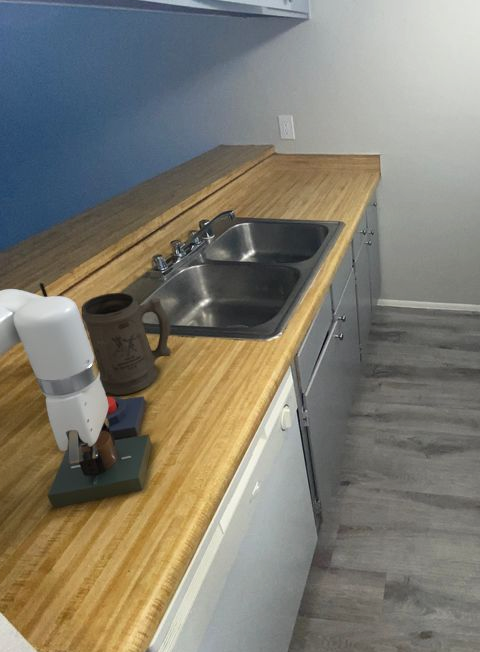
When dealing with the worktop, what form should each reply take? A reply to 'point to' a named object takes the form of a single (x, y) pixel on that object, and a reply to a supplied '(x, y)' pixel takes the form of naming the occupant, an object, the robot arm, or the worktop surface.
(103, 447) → the knob
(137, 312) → the beer stein
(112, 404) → the button
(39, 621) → the worktop surface
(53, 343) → the robot arm
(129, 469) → the panel
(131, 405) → the button box
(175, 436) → the worktop surface
